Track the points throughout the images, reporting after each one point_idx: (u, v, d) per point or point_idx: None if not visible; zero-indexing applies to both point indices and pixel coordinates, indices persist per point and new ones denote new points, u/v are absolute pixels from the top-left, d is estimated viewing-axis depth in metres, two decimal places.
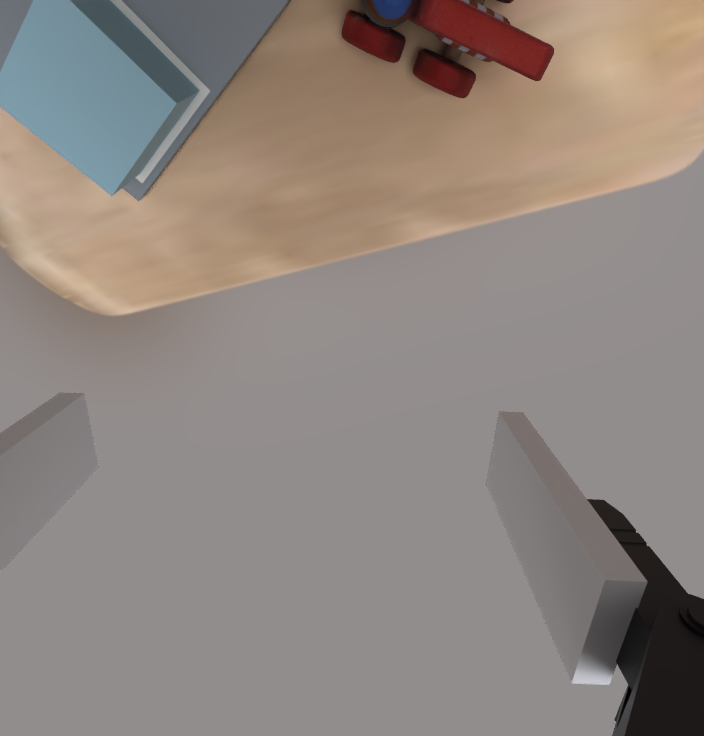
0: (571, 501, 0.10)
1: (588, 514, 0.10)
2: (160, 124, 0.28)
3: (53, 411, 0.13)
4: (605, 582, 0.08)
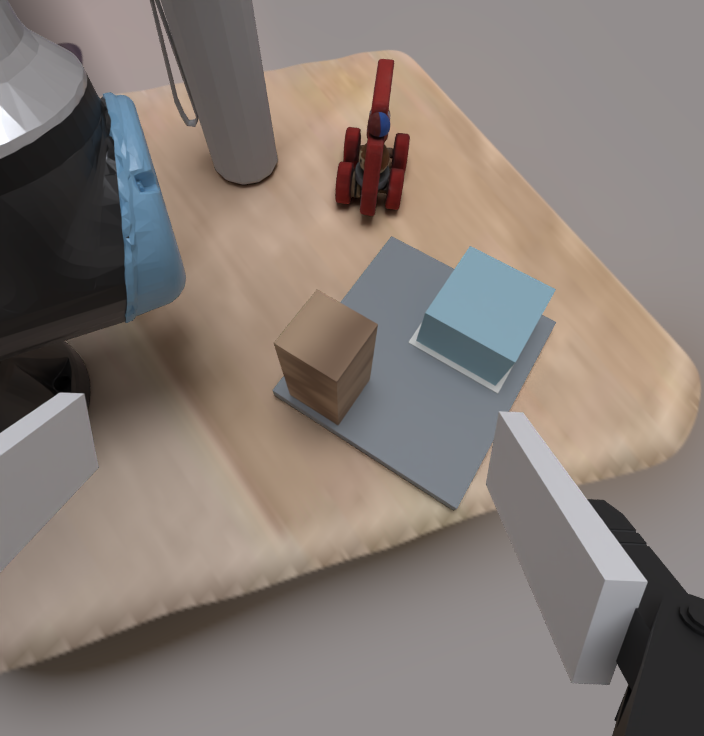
0: (571, 501, 0.10)
1: (588, 514, 0.10)
2: (487, 255, 0.39)
3: (53, 411, 0.13)
4: (605, 582, 0.08)
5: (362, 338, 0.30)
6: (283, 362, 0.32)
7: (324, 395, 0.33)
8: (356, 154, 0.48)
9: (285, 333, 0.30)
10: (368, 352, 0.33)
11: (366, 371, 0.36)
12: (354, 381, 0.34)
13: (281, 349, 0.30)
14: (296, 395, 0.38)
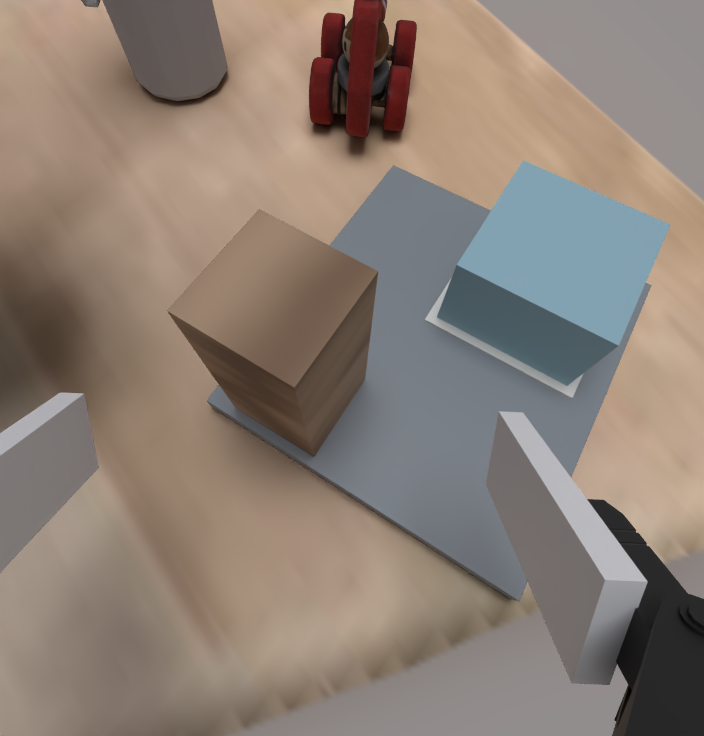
0: (571, 501, 0.10)
1: (588, 514, 0.10)
2: (552, 174, 0.24)
3: (53, 411, 0.13)
4: (605, 582, 0.08)
5: (347, 299, 0.15)
6: (200, 351, 0.17)
7: (281, 411, 0.18)
8: (339, 51, 0.33)
9: (192, 291, 0.15)
10: (360, 330, 0.18)
11: (358, 366, 0.21)
12: (336, 384, 0.19)
13: (184, 324, 0.15)
14: (243, 408, 0.23)
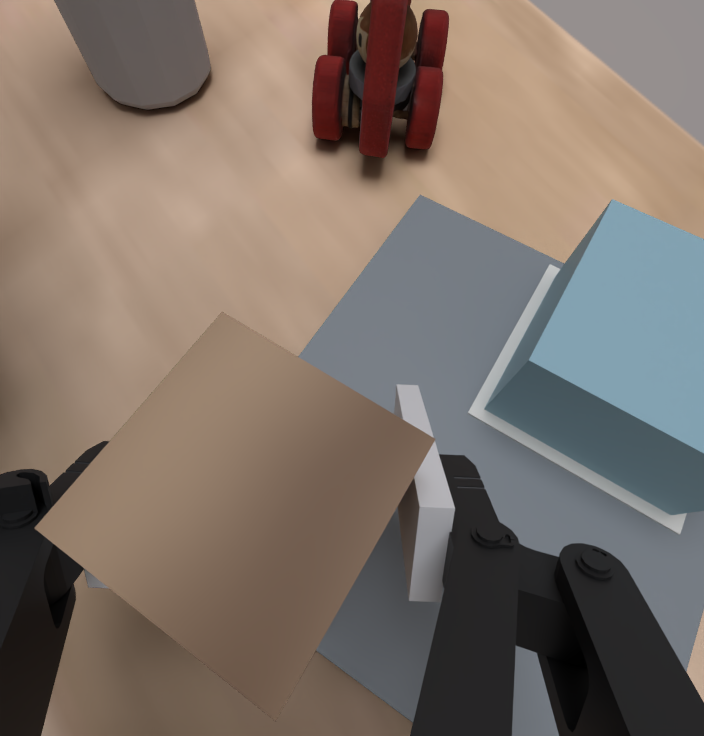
0: None
1: (432, 461, 0.11)
2: (655, 219, 0.17)
3: None
4: (421, 509, 0.10)
5: (380, 500, 0.08)
6: None
7: None
8: (351, 48, 0.26)
9: (87, 484, 0.08)
10: None
11: None
12: None
13: None
14: None
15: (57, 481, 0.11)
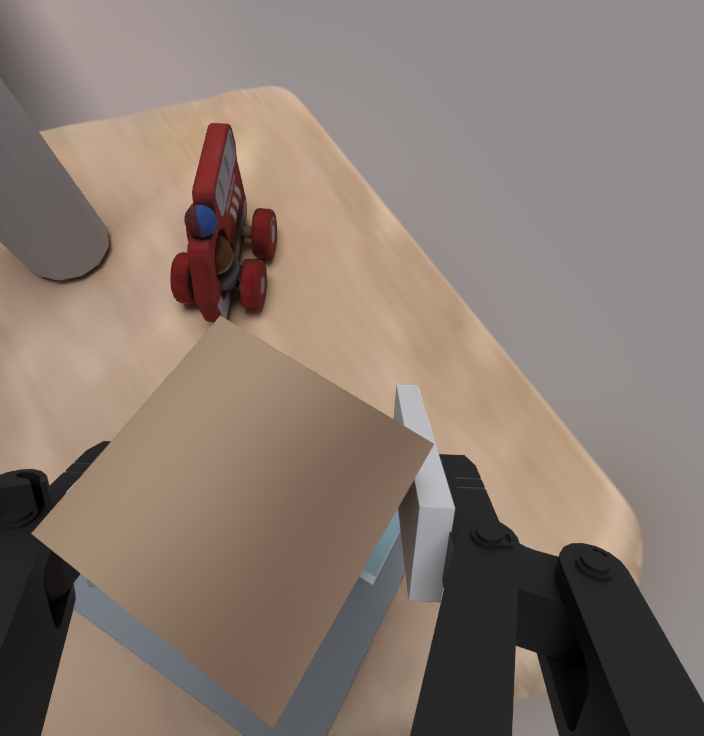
0: None
1: (432, 461, 0.11)
2: None
3: None
4: (421, 509, 0.10)
5: (378, 506, 0.08)
6: None
7: None
8: None
9: (85, 490, 0.08)
10: None
11: None
12: None
13: None
14: None
15: (57, 481, 0.11)
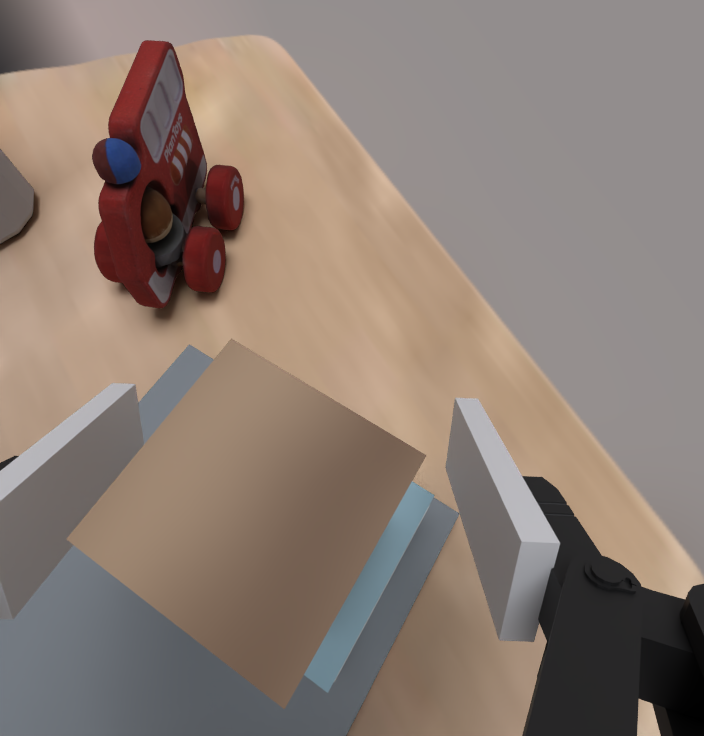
0: (506, 476, 0.11)
1: (519, 487, 0.10)
2: None
3: (110, 400, 0.14)
4: (522, 543, 0.09)
5: (376, 512, 0.09)
6: None
7: None
8: None
9: (113, 499, 0.09)
10: None
11: None
12: None
13: None
14: None
15: None
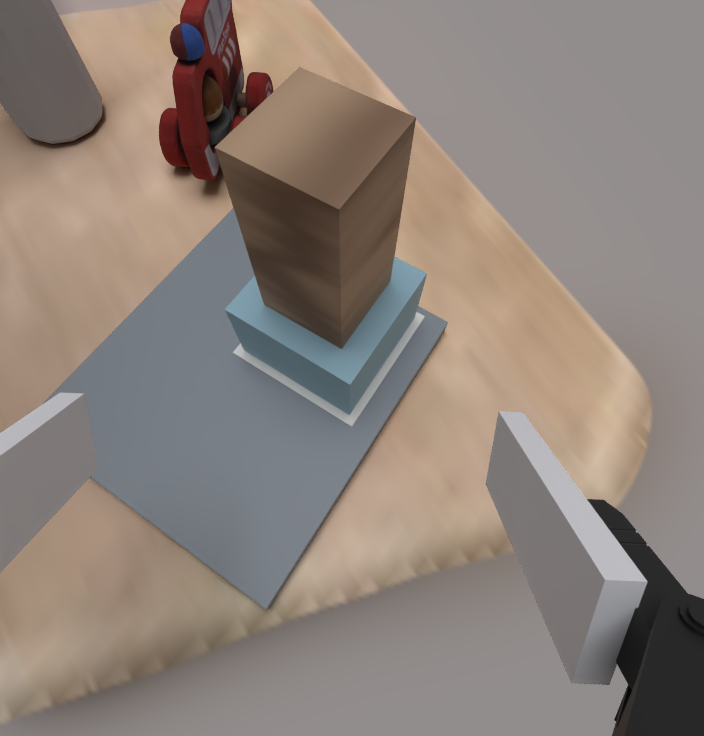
0: (571, 501, 0.10)
1: (588, 514, 0.10)
2: None
3: (53, 411, 0.13)
4: (605, 582, 0.08)
5: (387, 139, 0.15)
6: (241, 209, 0.18)
7: (316, 273, 0.18)
8: None
9: (238, 132, 0.15)
10: (394, 194, 0.18)
11: (387, 251, 0.22)
12: (369, 254, 0.19)
13: (230, 161, 0.15)
14: (273, 300, 0.23)
15: None
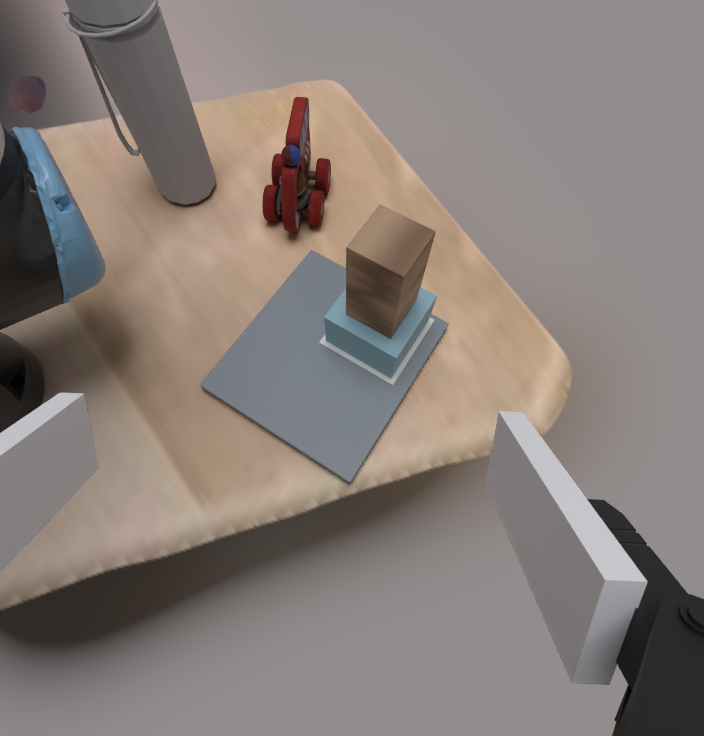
0: (571, 501, 0.10)
1: (588, 514, 0.10)
2: None
3: (53, 411, 0.13)
4: (605, 582, 0.08)
5: (423, 243, 0.34)
6: (350, 270, 0.36)
7: (385, 300, 0.37)
8: None
9: (356, 239, 0.34)
10: (424, 262, 0.37)
11: (417, 286, 0.40)
12: (410, 290, 0.38)
13: (353, 253, 0.34)
14: (353, 312, 0.42)
15: None
